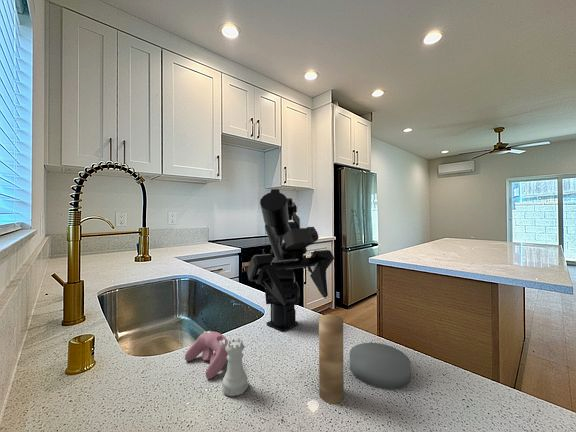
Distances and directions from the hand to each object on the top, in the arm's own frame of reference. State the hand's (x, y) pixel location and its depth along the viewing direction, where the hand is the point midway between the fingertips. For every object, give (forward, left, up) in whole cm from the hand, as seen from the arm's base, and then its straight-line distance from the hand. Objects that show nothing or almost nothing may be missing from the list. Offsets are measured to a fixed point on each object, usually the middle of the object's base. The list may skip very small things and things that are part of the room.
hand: (306, 300), depth 49 cm
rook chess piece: (-6, -13, -14) cm, 19 cm away
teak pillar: (+7, -3, -13) cm, 15 cm away
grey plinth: (+10, +9, -13) cm, 19 cm away
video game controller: (-16, -12, -14) cm, 24 cm away
